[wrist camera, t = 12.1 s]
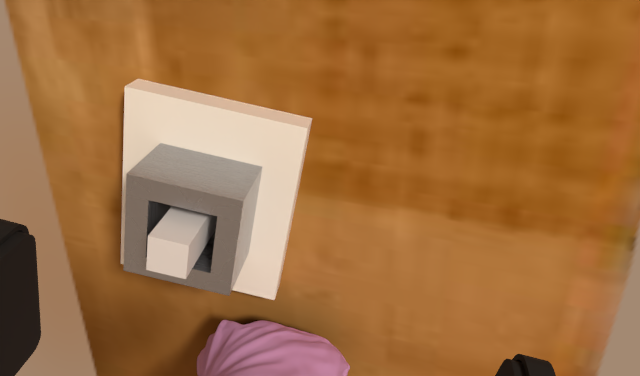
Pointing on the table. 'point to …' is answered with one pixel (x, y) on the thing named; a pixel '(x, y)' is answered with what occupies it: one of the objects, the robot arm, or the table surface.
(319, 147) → the table surface
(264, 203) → the post plinth
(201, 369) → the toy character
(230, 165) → the collar
